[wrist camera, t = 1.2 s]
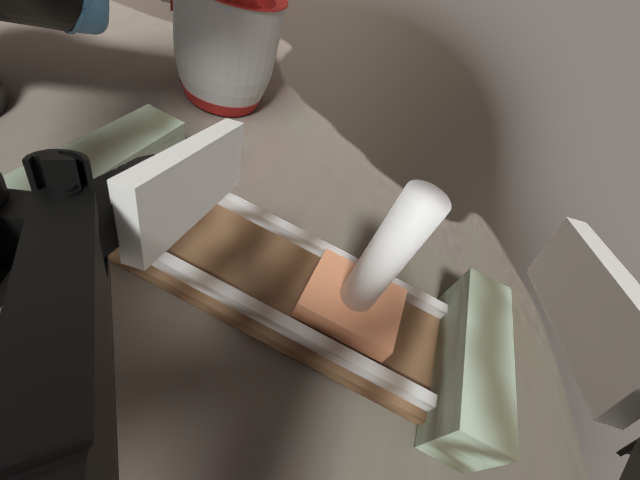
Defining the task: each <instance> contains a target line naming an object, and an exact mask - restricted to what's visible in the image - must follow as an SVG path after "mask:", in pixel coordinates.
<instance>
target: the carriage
mask: <svg viewBox="0 0 640 480" xmlns="http://www.w3.org/2000/svg"><path fill="white" fill-rule="evenodd" d="M450 210H451V202H450V200H449V198H448V197H447V195H446V194H445V193H444V192H443V191H442V190H441V189H439V188H438V187H437V186H435V185H433V184H431V183H429V182H426V181H423V180H412V181H409V182H408V183H407V184H406V186H405V188H404V189H403V191H402V192H401V194H400V195H399V197H398V199H397V200H396V202H395V203H394V205H393V206H392V208H391V210H390V211H389V213H388V214H387V216H386V217H385V219H384V221H383V222H382V224H381V225H380V227H379V228H378V230H377V232H376V233H375V235H374V236H373V238H372V239H371V241H370V243H369V244H368V246H367V247H366V249H365V250H364V252H363V254H362V255H361V257H360V258H359V260H358V261H357V263H354V262H352V261H350V260H348V259H346V258H344V257H342V256H340V255H339V254H337V253H335V252H333V251H331V250H329V249H327V248H326V250H325V252H324V253H323V255H322V257H321V259H320V261H319V263H318V265H317V267H316V269H315V270H314V272H313V274H312V276H311V278H310V280H309V282H308V284H307V285H306V287H305V289H304V291H303V293H302V295H301V297H300V299H299V301H298V302H297V304H296V306H295V308H294V311H293V313H292V315H291V316H293V317H295V318H297V319H299V320H300V321H302V322H304V323H306V324H308V325H310V326H312V327H314V328H316V329H317V330H319V331H321V332H323V333H325V334H327V335H329V336H331V337H333V338H335V339H336V340H338V341H340V342H342V343H344V344H346V345H348V346H350V347H352V348H354V349H355V350H357V351H359V352H361V353H363V354H365V355H367V356H369V357H371V358H372V359H374V360H376V361H378V362H380V363H382V362H383V361H384V360H385V359H387V358H388V357H389V356H390V355H391V354H392V353H393V350H394V345H395V341H396V337H397V333H398V329H399V325H400V320H401V316H402V312H403V308H404V304H405V300H406V295H407V291H408V290H406V289H404V288H402V287H401V286H399V285H397V284H395V283H393V282H392V281H393V280H394V279H395V278H396V276H397V275H398V274H399V273H400V271H401V270H402V269H403V268H404V267H405V265H406V264H407V263H408V262H409V261H410V259H411V258H412V257H413V256H414V254H415V253H416V252H417V251H418V250H419V248H420V247H421V246H422V245H423V244H424V242H425V241H426V240H427V239H428V237H429V236H430V235H431V234H432V233H433V231H434V230H435V229H436V228H437V227H438V225H439V224H440V223H441V222H442V220H443V219H444V218H445V217H446V216H447V214H448V213H449V212H450Z"/></svg>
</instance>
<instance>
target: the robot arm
mask: <svg viewBox="0 0 640 480" xmlns="http://www.w3.org/2000/svg"><path fill="white" fill-rule="evenodd" d="M0 21H4V22H11V23H17V24H23V25H30V26H36V27H43V28H49V29H54V30H60V31H64V32H66V33H69V34H75V33H85V34H95V35H97V34H101V33H103V32H104V31H105V30H106V29H107V27H108V23H109V0H0ZM8 100H9V98H8V94H7V91H6V89H5V86H4V84H3V81H2V79H1V77H0V114H1V113H2V112H3V111H4V110H5V108H6V107H7V105H8ZM243 130H244V123H242V122H238V121H235V120H231V119H228V118H226V119H224V120H222V121H220V122H218V123H216V124H214V125H212V126H210V127H208V128H206V129H204V130H203V131H201V132H199V133H197V134H195V135H193V136H191V137H189V138H187V139H185V140H183V141H181V142H179V143H177V144H175V145H173V146H172V147H170V148H168V149H166V150H164V151H162V152H160V153H158V154H156V155H155V154H151V155H146V156H141V157H137V158H135V159H133V160H131V161H129V162H127V163H126V164H123V165H121V166H119V167H117V169H113V170H111V171H109V172H107V173H105V174H102V175H100V176H98V177H96V178H94V179H93V175H92V170H91V165H90V160H89V158H88V156H87V155H85V154H83V153H81V152H78V151H74V150H68V149H46V150H41V151H36V152H33V153H31V154H28V155H26V156H25V157H24V158H23V159H22V162H23V166H24V169H25V172H26V175H27V178H28V181H29V184H30V188H31V191H27V190H18V189H9V188H7V186H6V183H5V180H4V178H3V176H2V174H1V173H0V308H1V306H2V309H1V312H0V480H119V470H118V446H117V422H116V398H115V374H114V350H113V326H112V302H111V278H110V262H109V257H108V255H109V254H111V253H112V252H113V251H114V250H116V249H117V248H118V249H119V255H120V260H121V263H122V264H125V265H128V266H131V267H134V268H137V269H140V270H143V271H145V270H146V269H147V268H148V267H150V266H151V265H152V264H153V263H154V262H155V261H156V260H157V259H158V258H159V257H160V256H161V255H162V254H164V253H165V252H166V251H167V250H168V249H169V248H170V247H171V246H172V245H173V244H174V243H175V242H177V241H178V240H179V239H180V238H181V237H182V236H183V235H184V234H185V233H186V232H187V231H188V230H189V229H191V228H192V227H193V226H194V225H195V224H196V223H197V222H198V221H199V220H200V219H201V218H202V217H203V216H205V215H206V214H207V213H208V212H209V211H210V210H211V209H212V208H213V207H214V206H215V205H216V204H217V203H219V202H220V201H221V200H222V199H223V198H224V197H225V196H226V195H227V194H228V193H229V192H230V191H232V190H233V189H234V188H235V187H236V186H237V185H238V184H239V181H240V169H241V156H242V143H243ZM527 273H528V276H529V278H530V280H531V282H532V285H533V287H534V289H535V291H536V293H537V296H538V298H539V300H540V302H541V304H542V306H543V309H544V311H545V313H546V315H547V317H548V320H549V322H550V324H551V326H552V329H553V331H554V333H555V335H556V337H557V340H558V342H559V344H560V346H561V349H562V351H563V353H564V355H565V357H566V360H567V362H568V364H569V366H570V368H571V371H572V373H573V375H574V377H575V379H576V382H577V384H578V386H579V388H580V390H581V393H582V395H583V397H584V399H585V402H586V404H587V406H588V408H589V410H590V412H591V415H592V417H593V419H594V420H595V421H598V422H601V423H604V424H607V425H610V426H613V427H616V428H619V429H622V430H623V429H624V428H627V427H628V426H630V425H631V424H633V423H634V422H636V421H637V420H639V419H640V285H639V283H638V282H637V281H636V280H635V279H634V278H633V276H632V275H631V274H630V273H629V272H628V271H627V269H626V268H625V267H624V266H623V265H622V264H621V263H620V261H619V260H618V259H617V258H616V257H615V256H614V254H613V253H612V252H611V251H610V250H609V249H608V247H607V246H606V245H605V244H604V243H603V242H602V240H601V239H600V238H599V237H598V236H597V235H596V234H595V232H594V231H593V230H592V229H591V228H590V226H589V225H588V224H587V223H585V222H582V221H578V220H575V219H571V218H568V217H566V218H565V219H564V221H563V222H562V223H561V225H560V226H559V227H558V229H557V230H556V231H555V233H554V234H553V235H552V237H551V238H550V239H549V241H548V242H547V244H546V245H545V246H544V248H543V249H542V250H541V252H540V253H539V254H538V256H537V257H536V258H535V260H534V261H533V262H532V264H531V265H530V266H529V268H528V269H527ZM616 453H617V454H618V455H620V456H622V455H624V454H630V457H629V459H628V462H627V464H626V466H625V468H624V470H623V473H622V475H621V477H620V480H640V437H639V438H638V439H636V440H635V441H633V442H631V443H630V444H628V445H627V446H625V447H623V448H622V449H620V450H619V451H618V452H616Z"/></svg>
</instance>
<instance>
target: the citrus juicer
mask: <svg viewBox="0 0 640 480" xmlns="http://www.w3.org/2000/svg"><path fill="white" fill-rule="evenodd" d="M161 1H164V2H168V3H171V11H173V41H174V54H175V59H176V64H177V69H178V72H179V75H180V81H181V84H182V86H183V89H184V91H185V93H186V95H187V97H188V99H189V100H190V101H191V102H192V103H193V104H194V105H196V106H197V107H199V108H200V109H203V110H205V111H207V112H210V113H213V114H216V115H221V116H228V117H237V116H244V115H247V114H249V113H251V112H252V111H254V110H255V108H256V107H257V105H258V104H259V102H260V101H261V99H262V97H263V94H264V92H265V90H266V88H267V86H268V83H269V81H270V78H271V76H272V72H273V68H274V64H275V59H276V54H277V49H278V44H279V39H280V33H281V28H282V23H283V18H284V13H285V9H286V8H287V7H288V1H287V0H161Z"/></svg>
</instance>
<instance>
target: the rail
mask: <svg viewBox="0 0 640 480" xmlns="http://www.w3.org/2000/svg"><path fill="white" fill-rule="evenodd" d="M183 140H185V122H183V121H181V120H179V119H177V118H175V117H173V116H171V115H169V114H167V113H165V112H163V111H161V110H159V109H157V108H155V107H153V106H151V105H149V104H147V105H145V106H143V107H141V108H139V109H137V110H135V111H132V112H130V113H128V114H126V115H124V116H122V117H120V118H118V119H116V120H114V121H112V122H110V123H108V124H106V125H104V126H102V127H100V128H98V129H96V130H94V131H92V132H90V133H88V134H86V135H84V136H82V137H80V138H78V139H76V140H74V141H72V142H70V143H68V144H66V145H64V146H62V147H60V148H58V149H68V150H74V151H78V152H81V153H83V154H85V155H87V156H88V158H89V160H90V165H91V170H92V175H93V179H94V178H96V177H98V176H100V175H102V174H105V173H107V172H109V171H111V170H113V169H117V167H119V166H121V165H123V164H126V163H127V162H129V161H131V160H133V159H135V158H137V157H141V156H146V155H151V154H155V155H156V154H158V153H160V152H162V151H164V150H166V149H168V148H170V147H172V146H173V145H175V144H177V143H179V142H181V141H183ZM3 178H4V180H5V183H6V186H7V188H9V189H18V190H27V191H31V188H30V184H29V181H28V178H27V175H26V172H25V169H24V166H21V167H19V168H17V169H15V170H13V171H11V172H9V173H7V174H5V175H3ZM326 248H327V249H329V250H331V251H333V252H335V253H337V254H339V255H340V256H342V257H344V258H346V259H348V260H350V261H352V262H354V263H357V261H358V260H359V259H358V258H356V257H354V256H352V255H350V254H348V253H347V252H345V251H343V250H341V249H339V248H337V247H335V246H333V245H331V244H329V243H327V242H325V241H323V240H321V239H319V238H317V237H316V236H314V235H312V234H310V233H308V232H306V231H304V230H302V229H300V228H298V227H296V226H294V225H292V224H290V223H288V222H286V221H284V220H283V219H281V218H279V217H277V216H275V215H273V214H271V213H269V212H267V211H265V210H263V209H261V208H259V207H257V206H255V205H253V204H251V203H250V202H248V201H246V200H244V199H242V198H240V197H238V196H236V195H234V194H232V193H230V192H229V193H228V194H227V195H226V196H225V197H224V198H223V199H222V200H221V201H220V202H219V203H217V204H216V205H215V206H214V207H213V208H212V209H211V210H210V211H209V212H208V213H207V214H206V215H205V216H203V217H202V218H201V219H200V220H199V221H198V222H197V223H196V224H195V225H194V226H193V227H192V228H191V229H189V230H188V231H187V232H186V233H185V234H184V235H183V236H182V237H181V238H180V239H179V240H178V241H177V242H175V243H174V244H173V245H172V246H171V247H170V248H169V249H168V250H167V251H166V252H165V253H164V254H162V255H161V256H160V257H159V258H158V259H157V260H156V261H155V262H154V263H153V264H152V265H151V266H150V267H148V268H147V269H146V270H145V271H143V270H140V269H137V268H134V267H131V266H128V265H125V264H122V263H121V260H120V255H119V249H118V248H117V249H116V250H114V251H113V252H112V253H111V254H109V255H108V257H109V261H111V262H113V263H115V264H116V265H118V266H120V267H122V268H124V269H126V270H128V271H130V272H131V273H133V274H135V275H137V276H139V277H141V278H143V279H145V280H146V281H148V282H150V283H152V284H154V285H156V286H158V287H160V288H161V289H163V290H165V291H167V292H169V293H171V294H173V295H175V296H176V297H178V298H180V299H182V300H184V301H186V302H188V303H190V304H191V305H193V306H195V307H197V308H199V309H201V310H203V311H205V312H206V313H208V314H210V315H212V316H214V317H216V318H218V319H220V320H221V321H223V322H225V323H227V324H229V325H231V326H233V327H235V328H236V329H238V330H240V331H242V332H244V333H246V334H248V335H250V336H251V337H253V338H255V339H257V340H259V341H261V342H263V343H265V344H266V345H268V346H270V347H272V348H274V349H276V350H278V351H280V352H281V353H283V354H285V355H287V356H289V357H291V358H293V359H295V360H296V361H298V362H300V363H302V364H304V365H306V366H308V367H310V368H311V369H313V370H315V371H317V372H319V373H321V374H323V375H325V376H326V377H328V378H330V379H332V380H334V381H336V382H338V383H340V384H341V385H343V386H345V387H347V388H349V389H351V390H353V391H355V392H356V393H358V394H360V395H362V396H364V397H366V398H368V399H370V400H371V401H373V402H375V403H377V404H379V405H381V406H383V407H385V408H386V409H388V410H390V411H392V412H394V413H396V414H398V415H400V416H401V417H403V418H405V419H407V420H409V421H411V422H413V423H415V424H416V425H418V427H417V434H416V440H415V446H414V447H415V448H417V449H418V450H420V451H422V452H424V453H426V454H428V455H430V456H432V457H433V458H435V459H437V460H439V461H441V462H443V463H445V464H446V465H448V466H450V467H452V468H454V469H456V470H458V471H459V472H461V473H463V474H466V473H471V472H475V471H480V470H484V469H489V468H493V467H498V466H502V465H507V464H511V463H516V462H520V461H519V441H518V421H517V400H516V380H515V360H514V339H513V319H512V299H511V288H509V287H507V286H505V285H503V284H501V283H499V282H497V281H495V280H493V279H491V278H489V277H487V276H485V275H483V274H481V273H480V272H478V271H476V270H474V269H472V268H470V269H469V270H468V271H467V272H466V273H465V274H464V275H463V276H462V277H460V278H459V279H458V280H457V281H456V282H455V283H454V284H453V285H452V286H451V287H450V288H449V289H448V290H447V291H445V292H444V293H443V294H442V295H441V296H440V297H439V298H438V299H436V298H434V297H432V296H430V295H428V294H426V293H424V292H422V291H420V290H418V289H416V288H414V287H413V286H411V285H409V284H407V283H405V282H403V281H401V280H399V279H397V278H395V279H394V280H393V281H392V282H393V283H395V284H397V285H399V286H401V287H402V288H404V289H406V290H408V291H407V295H406V300H405V304H404V308H403V312H402V316H401V320H400V325H399V329H398V333H397V337H396V341H395V345H394V350H393V353H392V354H391V355H390V356H389V357H388V358H387V359H385V360H384V361H383V362H382V363H380V362H378V361H376V360H374V359H372V358H371V357H369V356H367V355H365V354H363V353H361V352H359V351H357V350H355V349H354V348H352V347H350V346H348V345H346V344H344V343H342V342H340V341H338V340H336V339H335V338H333V337H331V336H329V335H327V334H325V333H323V332H321V331H319V330H317V329H316V328H314V327H312V326H310V325H308V324H306V323H304V322H302V321H300V320H299V319H297V318H295V317H293V316H291V315H292V313H293V311H294V308H295V306H296V304H297V302H298V301H299V299H300V297H301V295H302V293H303V291H304V289H305V287H306V285H307V284H308V282H309V280H310V278H311V276H312V274H313V272H314V270H315V269H316V267H317V265H318V263H319V261H320V259H321V257H322V255H323V253H324V252H325V250H326Z"/></svg>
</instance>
